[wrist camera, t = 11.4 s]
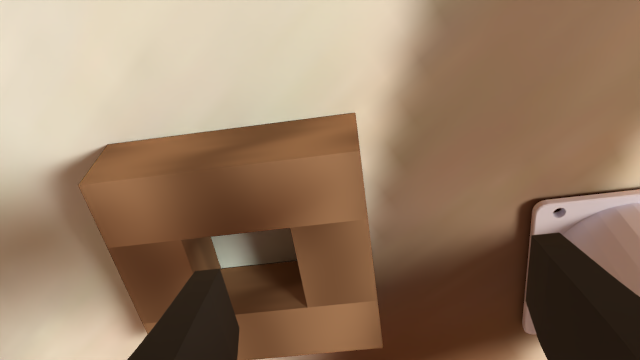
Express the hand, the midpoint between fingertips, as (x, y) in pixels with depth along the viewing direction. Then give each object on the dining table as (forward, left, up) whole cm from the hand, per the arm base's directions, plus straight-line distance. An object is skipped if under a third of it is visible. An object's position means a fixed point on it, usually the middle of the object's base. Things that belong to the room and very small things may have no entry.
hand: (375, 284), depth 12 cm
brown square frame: (+5, +5, -9) cm, 12 cm away
